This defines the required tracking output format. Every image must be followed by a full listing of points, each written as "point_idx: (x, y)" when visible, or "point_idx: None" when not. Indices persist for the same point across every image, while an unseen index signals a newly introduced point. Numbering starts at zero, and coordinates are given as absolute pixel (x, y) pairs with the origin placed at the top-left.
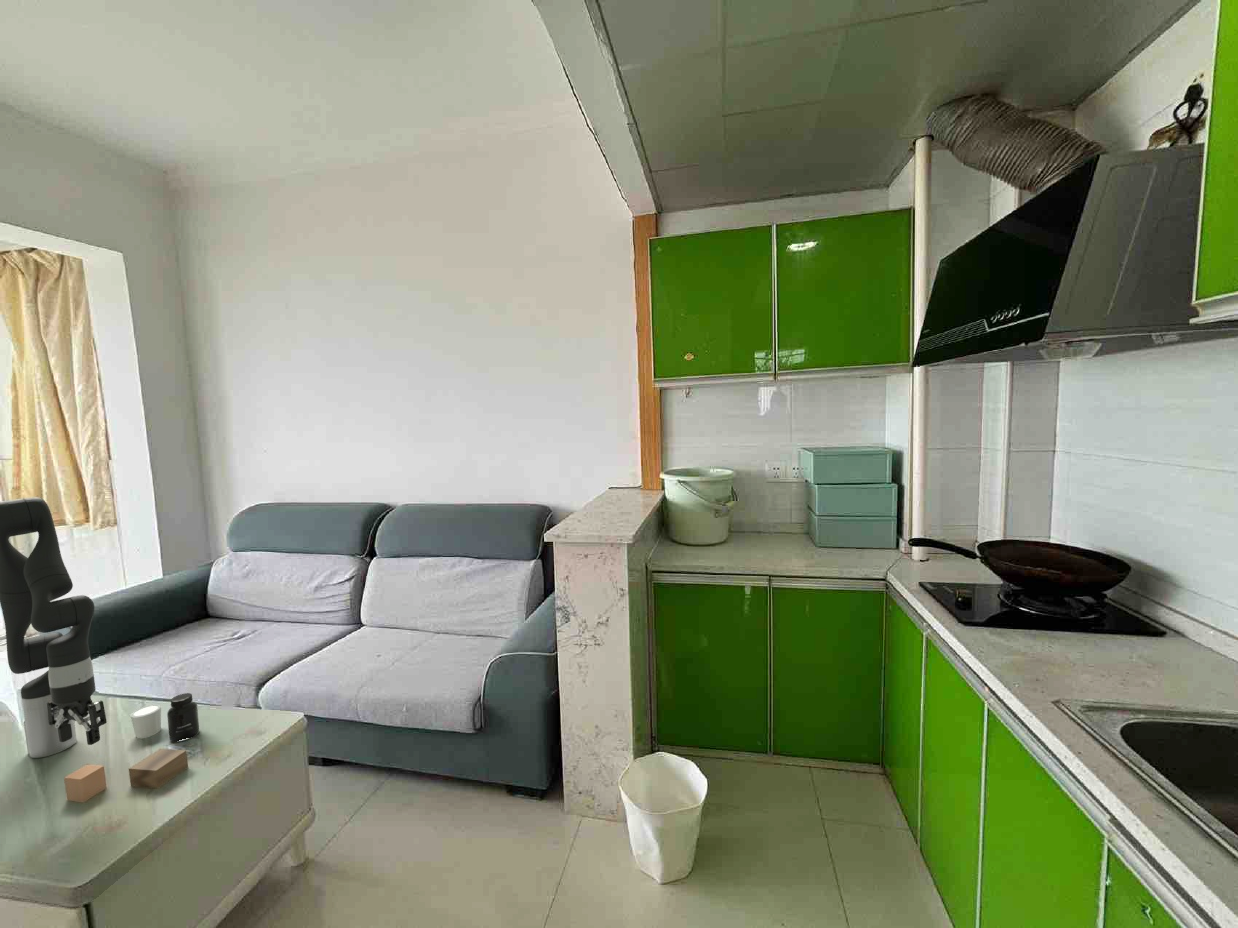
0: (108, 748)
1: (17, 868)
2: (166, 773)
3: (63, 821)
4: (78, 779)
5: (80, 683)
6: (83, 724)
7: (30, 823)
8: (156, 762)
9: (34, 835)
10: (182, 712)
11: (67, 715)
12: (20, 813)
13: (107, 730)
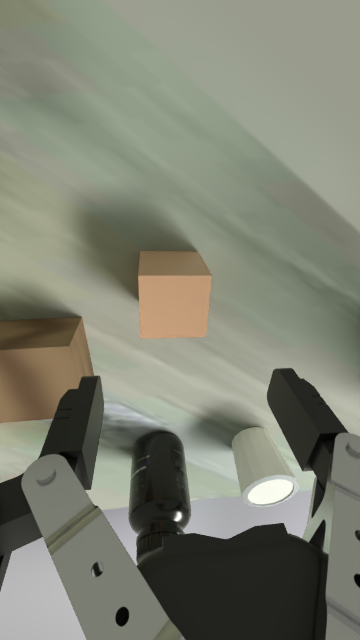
0: None
1: None
2: None
3: (101, 172)
4: (148, 275)
5: None
6: (76, 510)
7: (198, 152)
8: (14, 377)
9: (119, 99)
10: (136, 512)
11: (290, 589)
12: (277, 188)
13: None
